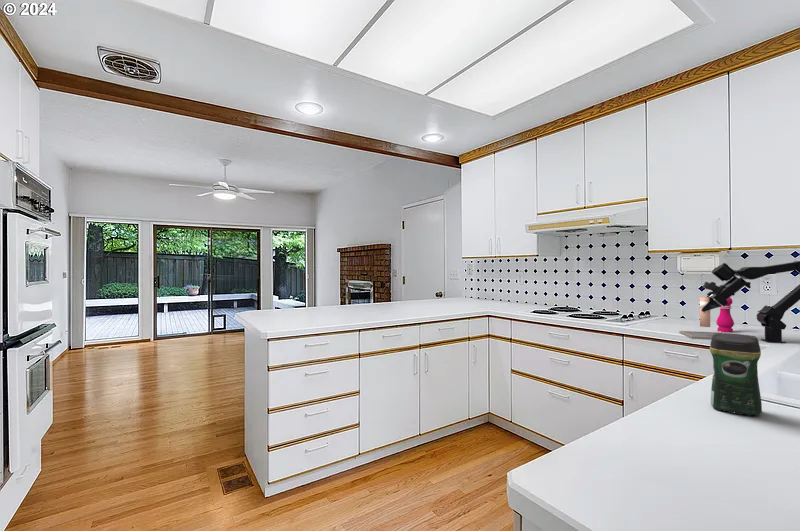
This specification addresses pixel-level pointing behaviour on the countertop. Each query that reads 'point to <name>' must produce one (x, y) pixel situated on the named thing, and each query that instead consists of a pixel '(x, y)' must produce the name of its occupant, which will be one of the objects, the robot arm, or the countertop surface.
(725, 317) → the pepper mill
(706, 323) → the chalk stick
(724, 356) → the coffee jar
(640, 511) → the countertop surface
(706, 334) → the slate board
